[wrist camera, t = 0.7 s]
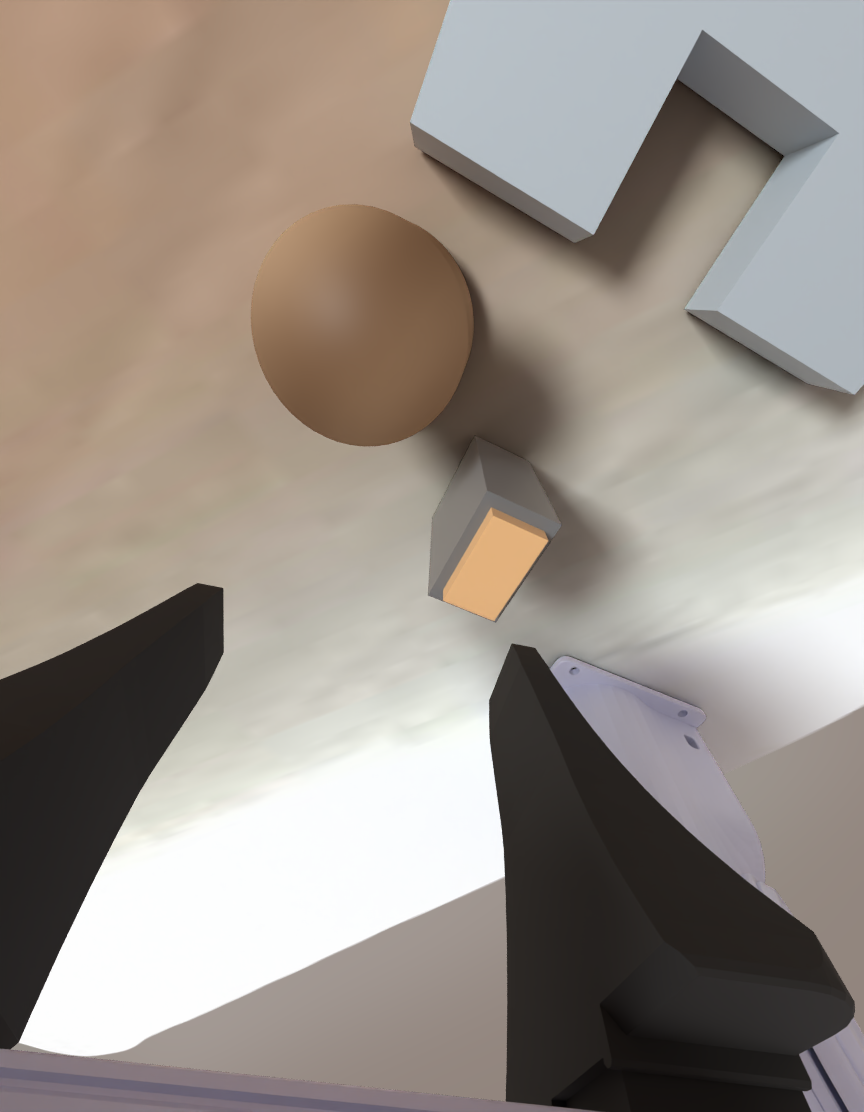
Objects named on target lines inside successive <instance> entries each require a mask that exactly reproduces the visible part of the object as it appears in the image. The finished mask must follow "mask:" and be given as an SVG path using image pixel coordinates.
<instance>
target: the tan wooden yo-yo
mask: <svg viewBox="0 0 864 1112" xmlns="http://www.w3.org/2000/svg"><path fill="white" fill-rule="evenodd" d="M251 327H252V336H253V342H254V347H255V351H256V354H257V357H258V361H259V364H260V366H261V368H262V371H263V373H264V375H265V378H266V379H267V381H268V383H269V385H270V386H271V388H272V390H273V392H274V393H275V394H276V396H277V397H278V398H279V400H280V401H281V402H282V404H283V405H284V406H285V407H286V408H287V409H288V410H289V411H290V412H291V413H292V414H293V415H294V416H295V417H296V418H297V419H298V420H300V421H301V422H302V423H303V424H305V425H306V426H308V427H309V428H310V429H312V430H313V431H315V432H317V433H319V434H321V435H323V436H325V437H327V438H330V439H332V440H335V441H337V442H341V443H345V444H349V445H357V446H380V445H387V444H391V443H395V442H398V441H401V440H403V439H406V438H408V437H410V436H412V435H414V434H416V433H417V432H419V431H421V430H422V429H424V428H425V427H426V426H427V425H429V424H430V423H431V422H432V421H433V420H434V419H435V418H436V417H437V416H438V415H439V414H440V413H441V412H442V411H443V410H444V408H445V407H446V405H447V404H448V403H449V401H450V400H451V398H452V396H453V394H454V393H455V391H456V389H457V387H458V384H459V382H460V379H461V377H462V374H463V372H464V369H465V367H466V364H467V362H468V359H469V355H470V351H471V347H472V341H473V332H474V317H473V307H472V302H471V297H470V293H469V290H468V287H467V284H466V281H465V279H464V277H463V275H462V272H461V270H460V268H459V266H458V265H457V263H456V262H455V260H454V259H453V257H452V256H451V254H450V253H449V252H448V251H447V250H446V248H445V247H444V246H443V245H442V244H441V243H440V242H439V241H438V240H437V239H436V238H435V237H433V236H432V235H431V234H430V233H428V232H427V231H425V230H424V229H422V228H421V227H419V226H417V225H415V224H413V223H411V222H409V221H407V220H405V219H403V218H401V217H399V216H397V215H395V214H393V213H390V212H388V211H385V210H382V209H378V208H375V207H371V206H364V205H338V206H332V207H327V208H324V209H321V210H318V211H316V212H313V213H310V214H309V215H307V216H305V217H303V218H302V219H300V220H298V221H297V222H295V223H294V224H293V225H292V226H291V227H289V228H288V229H287V230H286V231H285V232H284V233H283V234H282V235H281V236H280V237H279V238H278V239H277V241H276V242H275V243H274V244H273V246H272V247H271V249H270V250H269V252H268V254H267V255H266V257H265V259H264V261H263V263H262V265H261V267H260V270H259V272H258V275H257V279H256V282H255V285H254V290H253V296H252V303H251Z"/></svg>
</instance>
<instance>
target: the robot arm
mask: <svg viewBox="0 0 864 1112" xmlns="http://www.w3.org/2000/svg"><path fill="white" fill-rule="evenodd" d="M223 652H224V635H223V588H220V587H215V586H210V585H205V584H199V583H197V584H195V585H193V586H191V587H189V588H187V589H185V590H184V591H182V592H180V593H178V594H176V595H175V596H173V597H171V598H169V599H168V600H166V601H164V602H162V603H160V604H159V605H157V606H155V607H153V608H151V609H150V610H148V611H146V612H144V613H142V614H140V615H138V616H137V617H135V618H133V619H131V620H129V621H127V622H126V623H124V624H122V625H120V626H118V627H116V628H114V629H112V630H110V631H108V632H106V633H104V634H102V635H100V636H98V637H96V638H94V639H92V640H90V641H88V642H86V643H84V644H82V645H80V646H78V647H76V648H73V649H71V650H69V651H67V652H65V653H63V654H61V655H59V656H56V657H54V658H52V659H49V660H47V661H45V662H43V663H40V664H38V665H35V666H33V667H31V668H28V669H26V670H23V671H21V672H18V673H16V674H13V675H11V676H8V677H6V678H3V679H1V680H0V1112H864V1035H863V1033H862V1031H861V1029H860V1028H859V1026H858V1024H857V1022H856V1021H855V1019H854V1013H855V1004H854V1000H853V999H852V997H851V995H850V993H849V992H848V990H847V988H846V987H845V985H844V983H843V982H842V980H841V978H840V976H839V975H838V973H837V971H836V969H835V968H834V966H833V964H832V962H831V961H830V959H829V957H828V956H827V954H826V952H825V951H824V949H823V947H822V945H821V944H820V942H819V940H818V939H817V937H816V935H815V934H814V932H813V931H812V930H810V929H809V928H808V927H806V926H805V925H804V924H802V923H801V922H800V921H799V920H797V919H796V918H795V917H794V916H793V914H792V913H791V911H790V910H789V908H788V907H787V905H786V904H785V902H784V901H783V899H782V898H781V896H780V895H779V894H778V892H777V891H776V890H775V889H774V888H772V887H770V886H768V885H766V884H765V862H764V855H763V851H762V847H761V843H760V840H759V837H758V834H757V832H756V830H755V828H754V826H753V824H752V822H751V820H750V819H749V817H748V815H747V814H746V812H745V810H744V808H743V807H742V805H741V803H740V802H739V800H738V798H737V796H736V795H735V793H734V791H733V790H732V788H731V786H730V785H729V783H728V781H727V779H726V778H725V776H724V774H723V773H722V771H721V769H720V767H719V766H718V764H717V762H716V761H715V759H714V757H713V756H712V754H711V752H710V750H709V749H708V747H707V745H706V744H705V742H704V740H703V739H702V737H701V735H700V733H699V732H698V730H697V728H698V727H699V726H700V725H701V724H702V723H703V722H704V721H705V720H706V715H705V713H704V712H703V710H702V709H700V708H697V707H695V706H692V705H690V704H687V703H685V702H682V701H680V700H677V699H675V698H672V697H670V696H667V695H665V694H662V693H660V692H657V691H655V690H652V689H650V688H647V687H645V686H642V685H640V684H637V683H635V682H632V681H630V680H627V679H625V678H622V677H620V676H617V675H614V674H612V673H609V672H607V671H604V670H602V669H599V668H597V667H594V666H592V665H589V664H587V663H584V662H582V661H579V660H577V659H574V658H572V657H569V656H562V657H560V658H558V659H557V660H556V661H555V663H554V664H553V665H552V666H551V668H550V669H549V667H548V666H547V664H546V663H545V662H544V660H543V659H542V657H541V656H540V654H539V653H538V652H537V650H536V649H535V648H532V647H527V646H522V645H517V644H511V647H510V649H509V652H508V654H507V657H506V660H505V662H504V665H503V667H502V670H501V672H500V675H499V677H498V680H497V682H496V685H495V687H494V690H493V692H492V695H491V697H490V700H489V729H490V745H491V753H492V760H493V768H494V775H495V783H496V790H497V797H498V804H499V811H500V819H501V826H502V835H503V846H504V864H505V886H506V919H507V920H506V921H507V1001H508V1004H507V1075H506V1102H505V1101H495V1100H486V1099H476V1098H467V1097H458V1096H448V1095H439V1094H429V1093H419V1092H409V1091H400V1090H391V1089H381V1088H371V1087H362V1086H353V1085H342V1084H334V1083H324V1082H314V1081H305V1080H295V1079H286V1078H276V1077H266V1076H257V1075H247V1074H238V1073H229V1072H219V1071H210V1070H200V1069H191V1068H181V1067H170V1066H161V1065H151V1064H143V1063H133V1062H124V1061H114V1060H104V1059H95V1058H85V1057H76V1056H67V1055H57V1054H47V1053H38V1052H28V1051H18V1050H10V1049H11V1048H12V1047H14V1046H15V1045H16V1044H17V1043H18V1042H19V1040H20V1038H21V1036H22V1034H23V1031H24V1029H25V1027H26V1024H27V1022H28V1020H29V1018H30V1015H31V1013H32V1011H33V1009H34V1006H35V1004H36V1002H37V1000H38V998H39V995H40V993H41V991H42V989H43V987H44V984H45V982H46V980H47V978H48V976H49V973H50V971H51V969H52V967H53V964H54V962H55V960H56V958H57V956H58V953H59V951H60V949H61V947H62V945H63V943H64V941H65V939H66V937H67V934H68V932H69V930H70V928H71V926H72V924H73V922H74V920H75V918H76V916H77V914H78V912H79V909H80V907H81V905H82V903H83V901H84V899H85V897H86V895H87V893H88V891H89V889H90V887H91V885H92V883H93V881H94V879H95V877H96V875H97V873H98V871H99V869H100V867H101V865H102V863H103V861H104V859H105V857H106V855H107V853H108V851H109V849H110V847H111V845H112V843H113V841H114V839H115V837H116V835H117V833H118V832H119V830H120V828H121V826H122V824H123V822H124V820H125V818H126V816H127V815H128V813H129V811H130V809H131V807H132V805H133V803H134V801H135V799H136V798H137V796H138V794H139V792H140V790H141V789H142V787H143V785H144V784H145V782H146V780H147V779H148V777H149V775H150V774H151V772H152V771H153V769H154V768H155V766H156V765H157V763H158V762H159V760H160V759H161V757H162V756H163V754H164V752H165V751H166V749H167V748H168V746H169V745H170V743H171V742H172V740H173V739H174V737H175V736H176V734H177V733H178V731H179V730H180V728H181V727H182V725H183V724H184V722H185V721H186V719H187V718H188V716H189V714H190V713H191V711H192V710H193V708H194V707H195V705H196V704H197V702H198V701H199V699H200V697H201V696H202V694H203V693H204V691H205V690H206V688H207V686H208V684H209V682H210V680H211V678H212V676H213V674H214V672H215V669H216V667H217V665H218V663H219V661H220V659H221V657H222V655H223ZM574 667H576V669H573V670H571V668H574Z"/></svg>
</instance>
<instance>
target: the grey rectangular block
mask: <svg viewBox="0 0 864 1112" xmlns="http://www.w3.org/2000/svg"><path fill="white" fill-rule="evenodd" d="M561 526H562V524H561V522H560V520H559V518H558V516H557V514H556V513H555V511H554V509H553V507H552V505H551V503H550V501H549V499H548V497H547V495H546V493H545V491H544V489H543V487H542V486H541V484H540V482H539V480H538V478H537V476H536V474H535V472H534V470H533V468H532V466H531V464H530V462H529V461H527V460H525V459H523V458H521V457H519V456H516V455H514V454H512V453H510V452H508V451H506V450H504V449H502V448H500V447H498V446H496V445H494V444H492V443H490V442H488V441H486V440H483V439H481V438H479V437H477V436H474V438H473V440H472V442H471V444H470V446H469V448H468V449H467V451H466V453H465V455H464V457H463V459H462V461H461V463H460V465H459V467H458V469H457V471H456V473H455V475H454V477H453V479H452V480H451V482H450V484H449V486H448V488H447V490H446V492H445V494H444V496H443V498H442V500H441V502H440V504H439V506H438V508H437V509H436V511H435V513H434V515H433V517H432V531H431V549H430V568H429V586H428V595H429V596H431V597H434V598H436V599H439V600H441V601H444V602H446V603H449V604H451V605H454V606H456V607H459V608H461V609H464V610H466V611H469V612H471V613H474V614H476V615H479V616H481V617H483V618H486V619H488V620H491V621H493V622H496V621H497V620H498V618H499V617H500V616H501V614H502V613H503V611H504V610H505V608H506V607H507V605H508V604H509V602H510V601H511V599H512V598H513V596H514V595H515V593H516V592H517V591H518V589H519V588H520V586H521V585H522V583H523V582H524V580H525V579H526V577H527V576H528V574H529V573H530V571H531V570H532V568H533V567H534V565H535V564H536V563H537V561H538V560H539V558H540V557H541V555H542V554H543V552H544V551H545V549H546V548H547V546H548V545H549V543H550V542H551V540H552V539H553V538H554V536H555V535H556V533H557V532H558V530H559V529H560V527H561Z"/></svg>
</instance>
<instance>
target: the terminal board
mask: <svg viewBox="0 0 864 1112" xmlns="http://www.w3.org/2000/svg"><path fill="white" fill-rule="evenodd" d="M676 79H678V80H680V81H681V82H682V83H684V84H685V85H687V86H688V87H689V88H691V89H692V90H693V91H695V92H696V93H698V94H699V95H700V96H702V97H703V98H705V99H706V100H707V101H709V102H710V103H711V104H713V105H714V106H716V107H717V108H718V109H720V110H721V111H723V112H724V113H725V114H727V115H728V116H729V117H731V118H732V119H734V120H735V121H736V122H738V123H739V124H741V125H742V126H743V127H745V128H746V129H747V130H749V131H750V132H752V133H753V134H754V135H756V136H757V137H759V138H760V139H761V140H763V141H764V142H765V143H767V144H768V145H770V146H771V147H772V148H774V149H775V150H777V151H778V152H779V153H781V154H782V155H783V156H784V158H783V159H782V161H781V162H780V164H779V165H778V167H777V168H776V170H775V171H774V173H773V174H772V176H771V177H770V179H769V180H768V182H767V183H766V185H765V187H764V188H763V190H762V191H761V193H760V194H759V196H758V197H757V199H756V200H755V202H754V203H753V205H752V206H751V208H750V209H749V211H748V212H747V214H746V215H745V217H744V219H743V220H742V222H741V223H740V225H739V226H738V228H737V229H736V231H735V232H734V234H733V235H732V237H731V238H730V240H729V241H728V243H727V244H726V246H725V248H724V249H723V251H722V252H721V254H720V255H719V257H718V258H717V260H716V261H715V263H714V264H713V266H712V267H711V269H710V270H709V272H708V273H707V275H706V277H705V278H704V280H703V281H702V283H701V284H700V286H699V287H698V289H697V290H696V292H695V293H694V295H693V296H692V298H691V299H690V301H689V302H688V304H687V305H686V307H685V310H686V311H688V312H690V313H691V314H693V315H695V316H696V317H698V318H700V319H701V320H703V321H704V322H706V323H708V324H709V325H711V326H713V327H714V328H716V329H718V330H719V331H721V332H723V333H724V334H726V335H728V336H729V337H731V338H733V339H734V340H736V341H738V342H739V343H741V344H743V345H744V346H746V347H748V348H749V349H751V350H752V351H754V352H756V353H757V354H759V355H761V356H762V357H764V358H766V359H767V360H769V361H771V362H772V363H774V364H776V365H777V366H779V367H781V368H782V369H784V370H786V371H787V372H789V373H791V374H792V375H794V376H796V377H797V378H799V379H801V380H802V381H804V382H805V383H807V384H810V385H814V386H819V387H823V388H827V389H831V390H836V391H840V392H844V393H848V394H853V395H855V394H856V393H857V391H858V390H859V389H860V388H861V387H862V386H863V385H864V0H450V3H449V6H448V9H447V12H446V15H445V18H444V21H443V24H442V27H441V30H440V33H439V36H438V39H437V42H436V45H435V48H434V51H433V54H432V57H431V61H430V64H429V67H428V70H427V73H426V76H425V79H424V82H423V85H422V88H421V91H420V94H419V97H418V100H417V103H416V106H415V109H414V112H413V115H412V118H411V121H410V125H411V130H412V135H413V140H414V146H415V147H416V148H418V149H420V150H421V151H423V152H425V153H426V154H428V155H430V156H431V157H433V158H435V159H436V160H438V161H439V162H441V163H443V164H444V165H446V166H448V167H449V168H451V169H453V170H454V171H456V172H458V173H459V174H461V175H463V176H464V177H466V178H468V179H469V180H471V181H473V182H474V183H476V184H478V185H479V186H481V187H483V188H484V189H486V190H488V191H489V192H491V193H492V194H494V195H496V196H497V197H499V198H501V199H502V200H504V201H506V202H507V203H509V204H511V205H512V206H514V207H516V208H517V209H519V210H521V211H522V212H524V213H526V214H527V215H529V216H531V217H532V218H534V219H536V220H537V221H539V222H541V223H542V224H544V225H545V226H547V227H549V228H550V229H552V230H554V231H555V232H557V233H559V234H560V235H562V236H564V237H565V238H567V239H569V240H570V241H572V242H574V243H576V242H578V241H580V240H583V239H585V238H587V237H590V236H592V235H594V233H595V231H596V229H597V228H598V226H599V224H600V222H601V220H602V218H603V216H604V214H605V212H606V211H607V209H608V207H609V205H610V203H611V201H612V199H613V197H614V196H615V194H616V192H617V190H618V188H619V186H620V184H621V182H622V180H623V179H624V177H625V175H626V173H627V171H628V169H629V167H630V165H631V163H632V162H633V160H634V158H635V156H636V154H637V152H638V150H639V148H640V147H641V145H642V143H643V141H644V139H645V137H646V135H647V133H648V131H649V130H650V128H651V126H652V124H653V122H654V120H655V118H656V116H657V114H658V113H659V111H660V109H661V107H662V105H663V103H664V101H665V99H666V97H667V96H668V94H669V92H670V90H671V88H672V86H673V84H674V82H675V81H676Z"/></svg>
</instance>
